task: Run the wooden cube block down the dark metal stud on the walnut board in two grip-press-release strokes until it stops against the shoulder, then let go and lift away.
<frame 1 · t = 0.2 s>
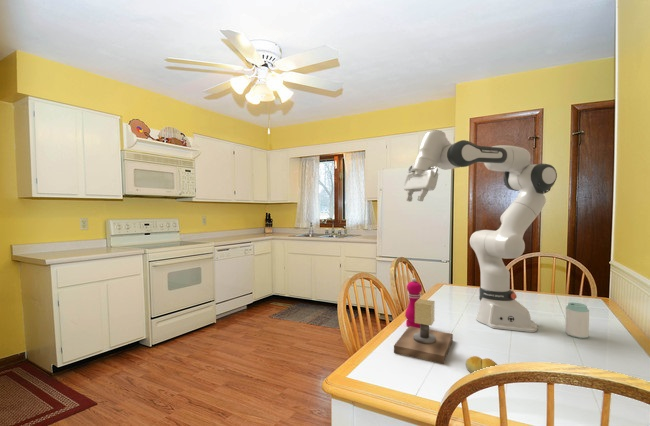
hand: (414, 201, 131), 52 cm above the table, tool tilted 20°, fingers open, 8 cm apart
bread roll: (482, 372, 97), on the table
walnut board: (424, 346, 114), on the table
can: (576, 336, 124), on the table
pepper mill: (414, 326, 134), on the table
wooden cube block: (424, 311, 114), point 12 cm above the table, slide at 0.0 cm
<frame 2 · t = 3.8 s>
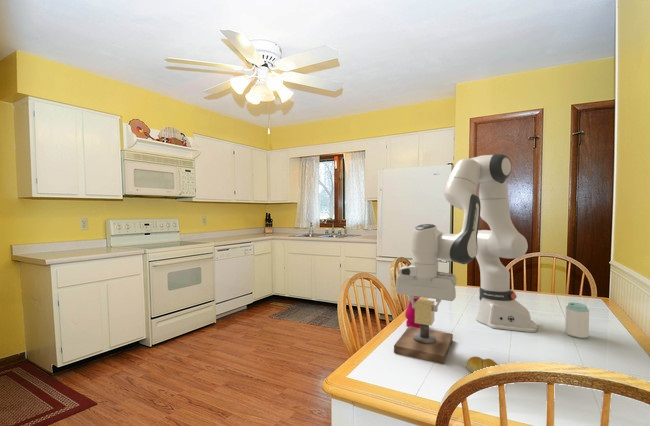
hand: (424, 309, 114), 13 cm above the table, tool pointing down, fingers closed on wooden cube block, 6 cm apart
wooden cube block: (424, 311, 114), point 12 cm above the table, slide at 0.0 cm, touching gripper
everything else where it was.
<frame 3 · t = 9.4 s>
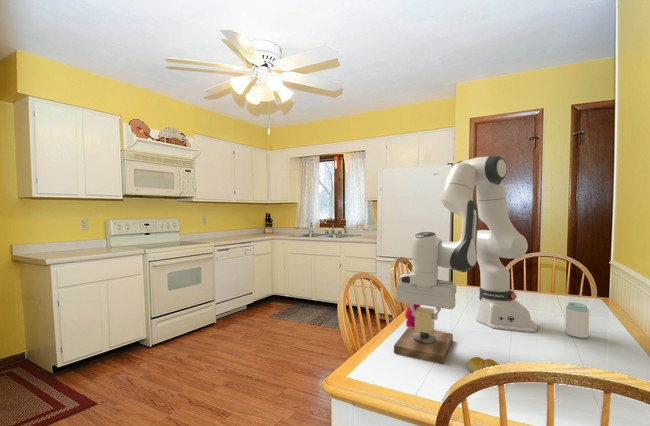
hand: (424, 317, 114), 10 cm above the table, tool pointing down, fingers closed on wooden cube block, 6 cm apart
wooden cube block: (424, 319, 114), point 10 cm above the table, slide at 2.8 cm, touching gripper
everything else where it was.
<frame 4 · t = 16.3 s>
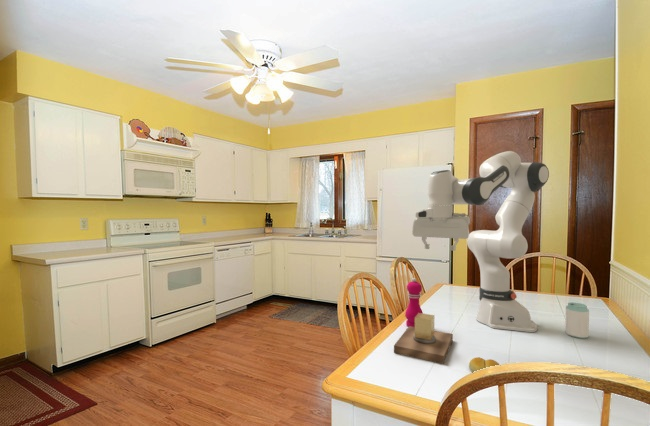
hand: (439, 249, 123), 33 cm above the table, tool pointing down, fingers open, 8 cm apart
wooden cube block: (424, 326, 114), point 7 cm above the table, slide at 5.1 cm
everything else where it was.
at the end: wooden cube block slide at 5.1 cm; the gripper is holding nothing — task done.
